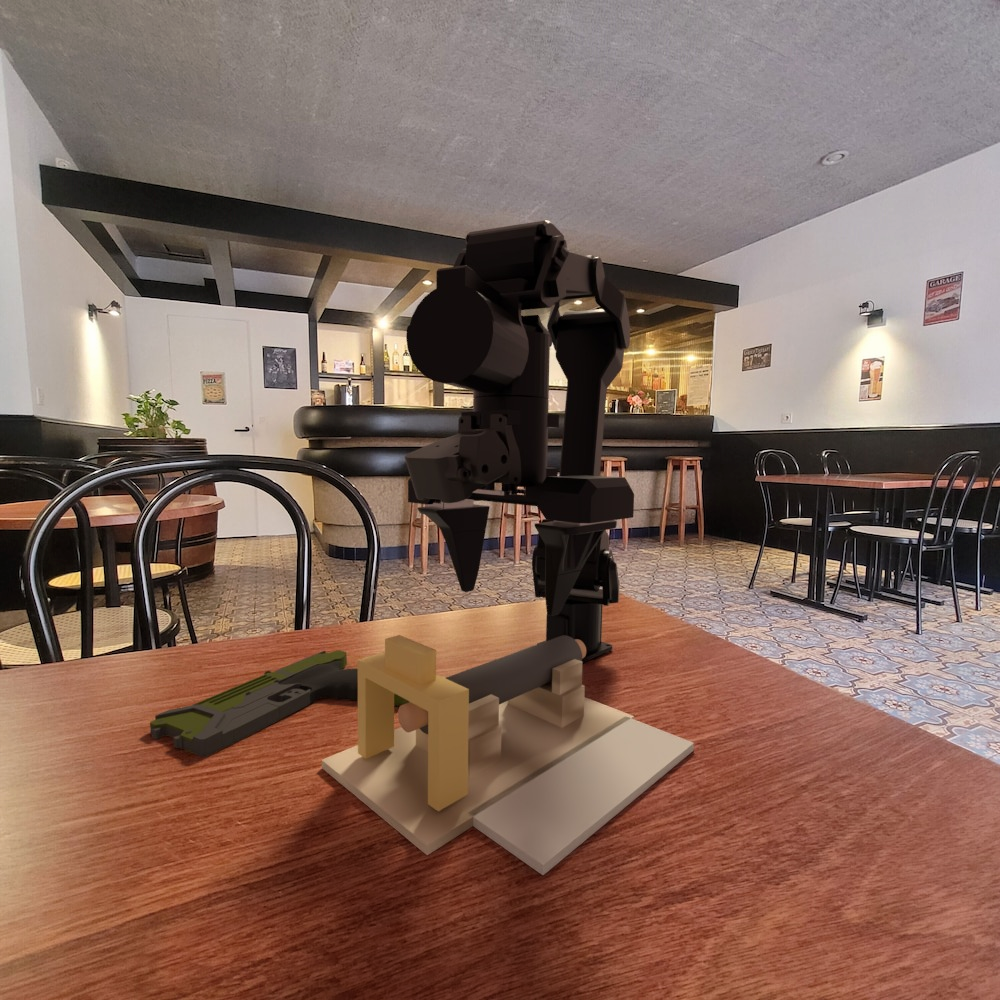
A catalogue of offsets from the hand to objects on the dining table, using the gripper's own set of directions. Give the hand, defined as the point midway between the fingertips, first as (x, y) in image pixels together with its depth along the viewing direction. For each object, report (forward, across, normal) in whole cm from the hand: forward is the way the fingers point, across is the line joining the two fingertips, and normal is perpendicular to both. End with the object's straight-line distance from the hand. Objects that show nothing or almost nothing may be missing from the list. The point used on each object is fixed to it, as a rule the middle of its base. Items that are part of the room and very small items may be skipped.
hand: (507, 602), depth 43 cm
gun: (+12, -16, -9) cm, 22 cm away
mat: (+11, +8, 0) cm, 14 cm away
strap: (+11, 0, -9) cm, 14 cm away
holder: (+11, 0, -2) cm, 11 cm away
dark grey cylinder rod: (+6, 0, 0) cm, 6 cm away
